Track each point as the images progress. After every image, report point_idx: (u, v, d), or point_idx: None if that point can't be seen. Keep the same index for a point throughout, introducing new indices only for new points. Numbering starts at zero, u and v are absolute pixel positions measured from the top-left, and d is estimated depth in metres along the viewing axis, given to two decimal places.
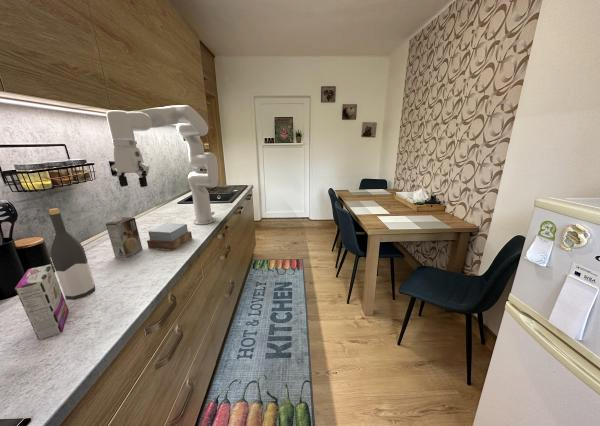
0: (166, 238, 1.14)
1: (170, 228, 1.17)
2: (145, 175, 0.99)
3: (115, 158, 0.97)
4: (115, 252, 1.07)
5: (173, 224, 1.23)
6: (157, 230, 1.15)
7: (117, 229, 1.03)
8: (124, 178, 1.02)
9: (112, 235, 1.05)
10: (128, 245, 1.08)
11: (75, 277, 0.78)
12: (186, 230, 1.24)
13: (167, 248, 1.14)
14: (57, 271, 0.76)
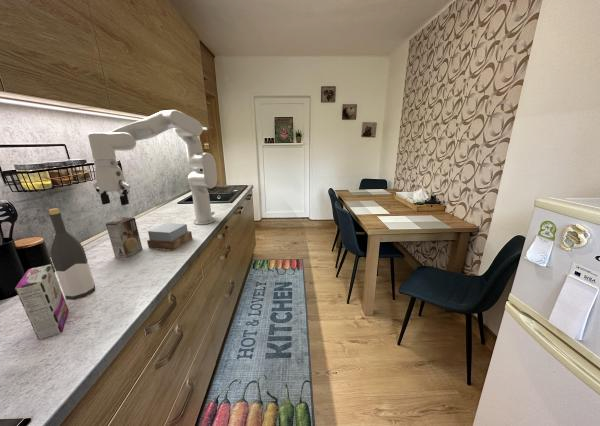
0: (165, 238, 1.13)
1: (169, 228, 1.17)
2: (126, 194, 1.02)
3: (97, 177, 1.00)
4: (115, 252, 1.07)
5: (173, 224, 1.23)
6: (156, 230, 1.15)
7: (117, 229, 1.03)
8: (106, 196, 1.05)
9: (112, 235, 1.05)
10: (128, 245, 1.08)
11: (74, 277, 0.78)
12: (186, 230, 1.23)
13: (167, 248, 1.14)
14: (57, 271, 0.76)
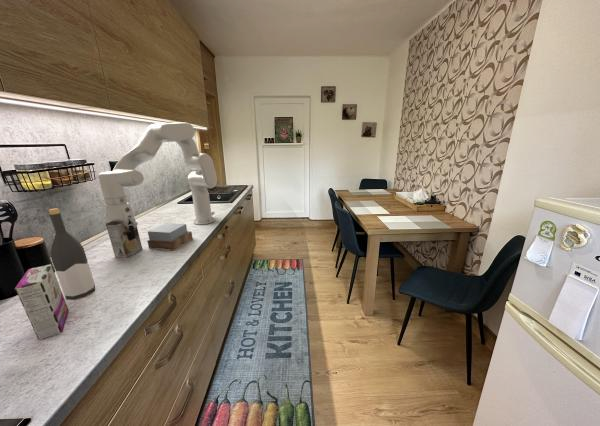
0: (165, 238, 1.14)
1: (169, 228, 1.17)
2: (133, 229, 1.08)
3: (107, 213, 1.05)
4: (115, 252, 1.07)
5: (172, 224, 1.23)
6: (156, 230, 1.15)
7: (117, 229, 1.03)
8: None
9: (112, 235, 1.05)
10: (128, 245, 1.08)
11: (75, 277, 0.78)
12: (185, 230, 1.24)
13: (167, 248, 1.14)
14: (57, 271, 0.76)
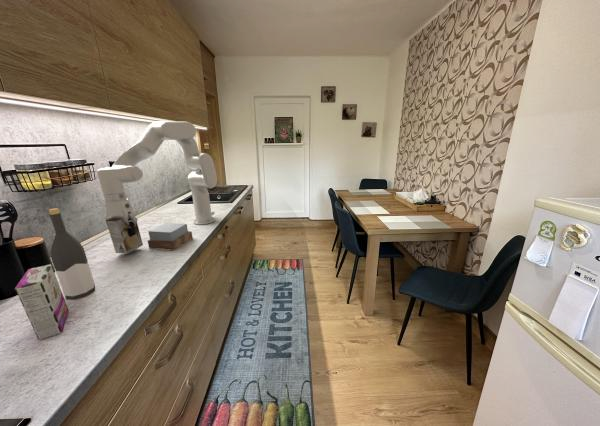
0: (166, 238, 1.14)
1: (170, 228, 1.17)
2: (133, 226, 1.07)
3: (107, 210, 1.04)
4: (116, 248, 1.07)
5: (173, 224, 1.23)
6: (157, 230, 1.15)
7: (117, 225, 1.03)
8: None
9: (113, 231, 1.05)
10: (129, 242, 1.08)
11: (75, 277, 0.78)
12: (186, 230, 1.24)
13: (168, 248, 1.14)
14: (57, 271, 0.76)
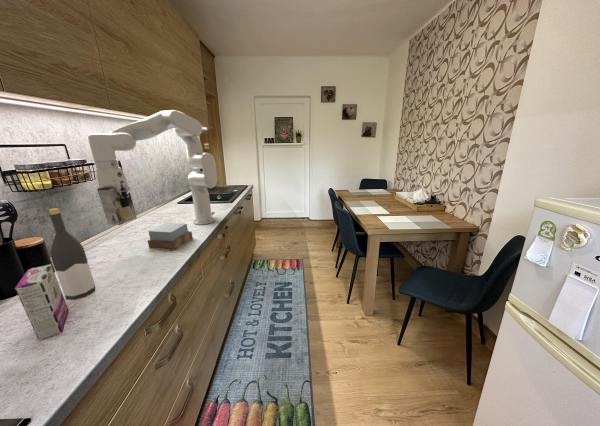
0: (166, 238, 1.14)
1: (170, 228, 1.18)
2: (126, 196, 1.03)
3: (98, 178, 1.00)
4: (108, 219, 1.03)
5: (173, 224, 1.24)
6: (157, 230, 1.15)
7: (109, 194, 0.99)
8: None
9: (105, 201, 1.00)
10: (121, 213, 1.04)
11: (75, 277, 0.78)
12: (186, 230, 1.24)
13: (168, 248, 1.14)
14: (57, 271, 0.76)
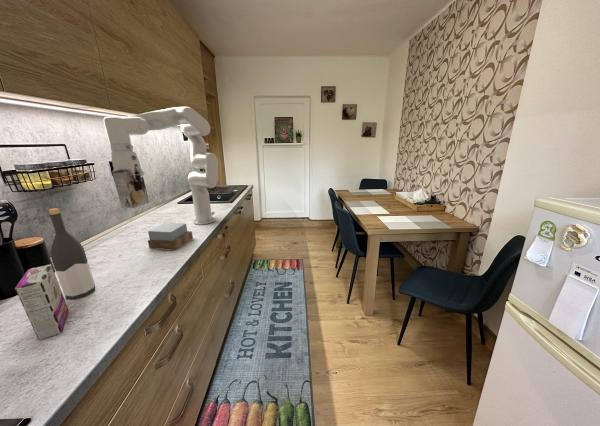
0: (166, 237, 1.14)
1: (170, 228, 1.18)
2: (140, 179, 1.05)
3: (113, 162, 1.02)
4: (122, 202, 1.05)
5: (172, 224, 1.24)
6: (156, 230, 1.15)
7: (123, 177, 1.00)
8: None
9: (119, 184, 1.02)
10: (135, 196, 1.05)
11: (75, 277, 0.78)
12: (185, 230, 1.24)
13: (168, 248, 1.14)
14: (57, 271, 0.76)
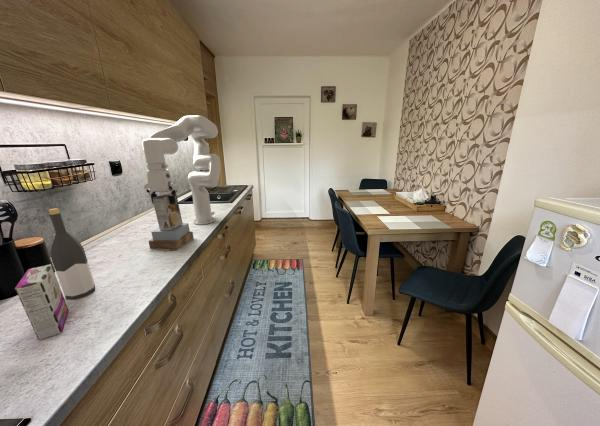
0: (171, 237, 1.15)
1: None
2: (174, 193, 1.13)
3: (148, 179, 1.11)
4: (160, 225, 1.15)
5: None
6: (160, 230, 1.15)
7: (163, 202, 1.11)
8: (155, 196, 1.16)
9: (158, 208, 1.12)
10: (172, 219, 1.15)
11: (75, 277, 0.78)
12: (188, 229, 1.25)
13: (169, 248, 1.14)
14: (57, 271, 0.76)
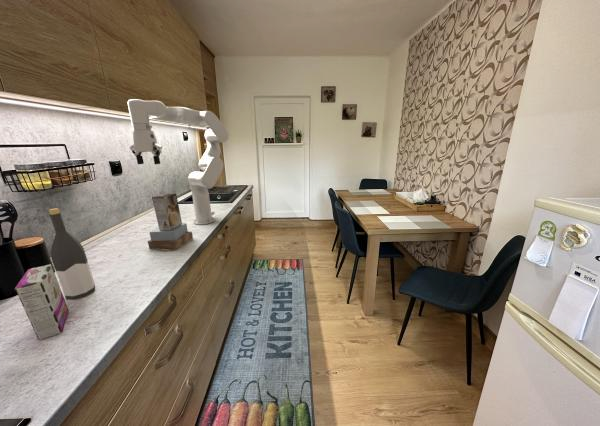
0: (169, 237, 1.14)
1: None
2: (158, 154, 1.19)
3: (134, 139, 1.16)
4: (160, 225, 1.15)
5: None
6: (158, 231, 1.15)
7: (163, 202, 1.11)
8: (140, 157, 1.21)
9: (158, 208, 1.12)
10: (172, 219, 1.15)
11: (75, 277, 0.78)
12: (186, 229, 1.25)
13: (168, 248, 1.14)
14: (57, 271, 0.76)
